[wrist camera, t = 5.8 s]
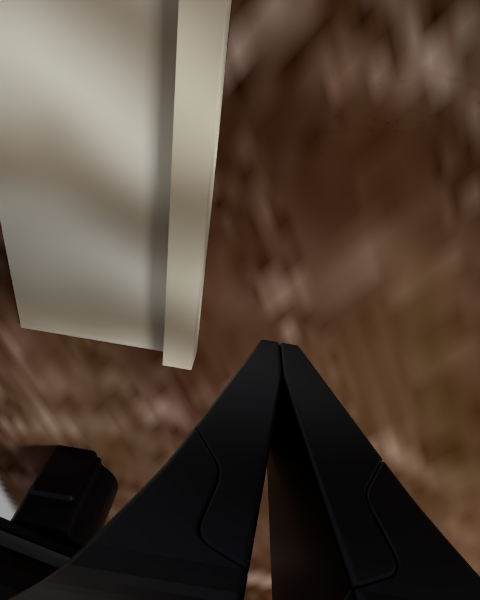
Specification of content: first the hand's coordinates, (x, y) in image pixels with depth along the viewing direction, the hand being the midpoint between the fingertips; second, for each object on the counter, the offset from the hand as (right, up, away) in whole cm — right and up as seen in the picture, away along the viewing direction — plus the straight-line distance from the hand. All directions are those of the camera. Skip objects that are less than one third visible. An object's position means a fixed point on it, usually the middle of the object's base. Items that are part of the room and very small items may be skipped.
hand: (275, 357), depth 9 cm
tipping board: (-7, +6, +8) cm, 12 cm away
